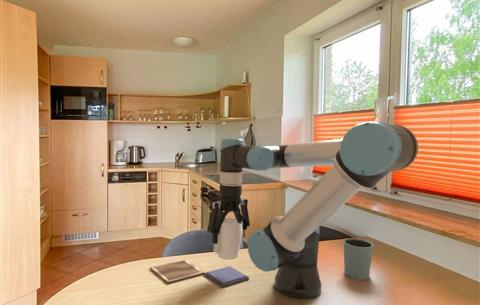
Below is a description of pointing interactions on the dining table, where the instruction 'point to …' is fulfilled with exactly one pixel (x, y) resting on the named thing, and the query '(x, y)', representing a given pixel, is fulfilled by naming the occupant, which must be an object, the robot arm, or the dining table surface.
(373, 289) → the dining table surface
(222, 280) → the ink pad
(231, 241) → the cup
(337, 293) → the dining table surface
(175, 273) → the marked board
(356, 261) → the green tumbler
